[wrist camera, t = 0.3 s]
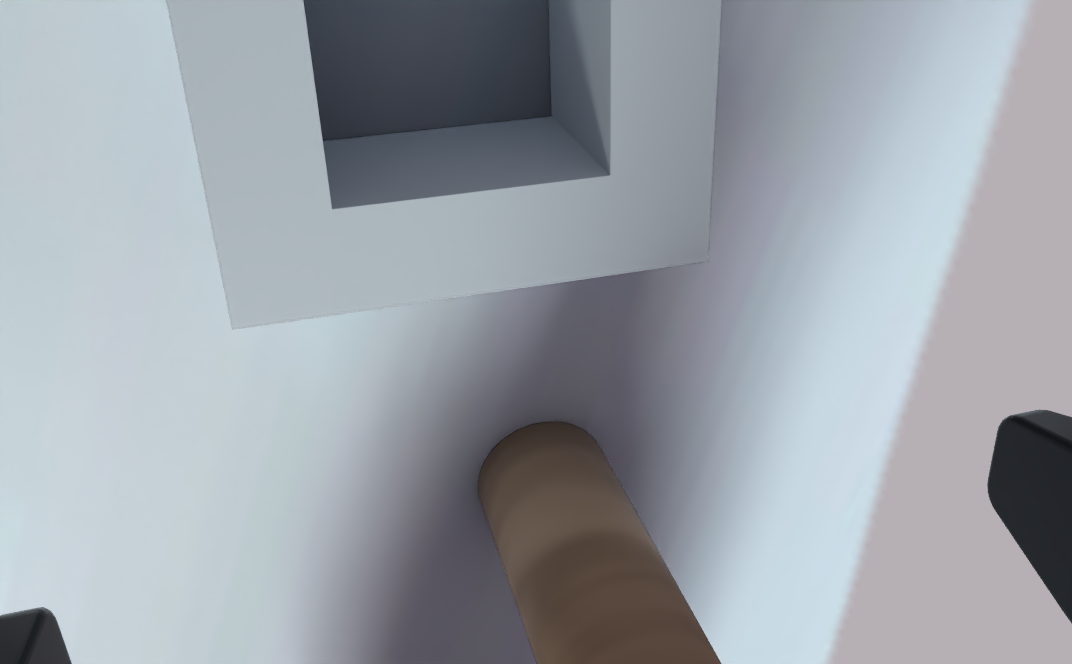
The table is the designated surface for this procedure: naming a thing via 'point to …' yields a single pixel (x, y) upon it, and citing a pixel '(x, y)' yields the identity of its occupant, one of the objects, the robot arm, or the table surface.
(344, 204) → the grey and wooden blocks
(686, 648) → the peg
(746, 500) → the table surface
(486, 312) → the table surface
